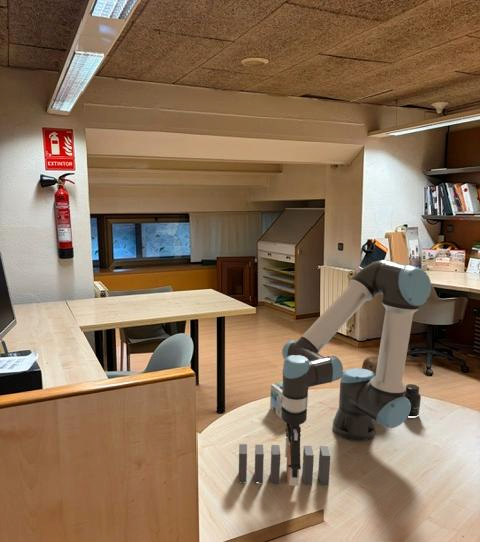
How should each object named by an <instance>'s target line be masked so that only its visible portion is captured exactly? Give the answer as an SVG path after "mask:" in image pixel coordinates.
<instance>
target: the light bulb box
mask: <svg viewBox="0 0 480 542" xmlns="http://www.w3.org/2000/svg"><path fill="white" fill-rule="evenodd" d="M282 386H283V381H280V382H275V383H272V384H270V402H269V409H270V410H271V411H272V412H273V413H274V414H275V413H276V414H275V415H276V416H278V418H280V419H281V420H282V418H281V412H282V400H281V399H280V397H281V396H282Z"/></svg>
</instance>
